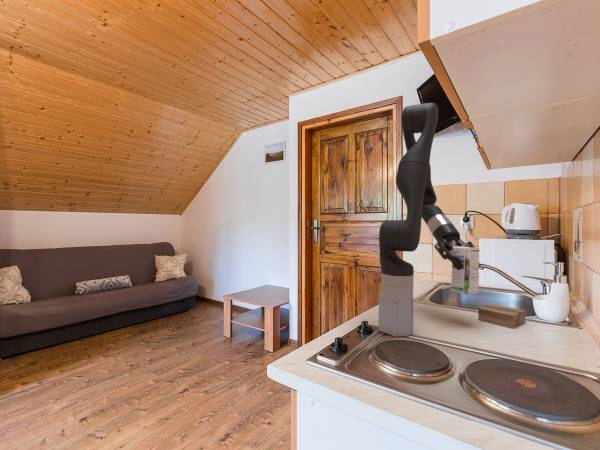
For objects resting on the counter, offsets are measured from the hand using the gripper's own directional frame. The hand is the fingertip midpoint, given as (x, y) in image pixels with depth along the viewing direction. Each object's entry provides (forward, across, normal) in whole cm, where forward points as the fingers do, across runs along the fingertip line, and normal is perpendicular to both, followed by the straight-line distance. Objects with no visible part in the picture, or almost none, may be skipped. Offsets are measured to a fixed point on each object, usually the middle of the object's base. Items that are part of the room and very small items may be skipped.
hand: (469, 268), depth 92 cm
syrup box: (+5, 0, +7) cm, 8 cm away
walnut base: (+12, +15, +14) cm, 24 cm away
